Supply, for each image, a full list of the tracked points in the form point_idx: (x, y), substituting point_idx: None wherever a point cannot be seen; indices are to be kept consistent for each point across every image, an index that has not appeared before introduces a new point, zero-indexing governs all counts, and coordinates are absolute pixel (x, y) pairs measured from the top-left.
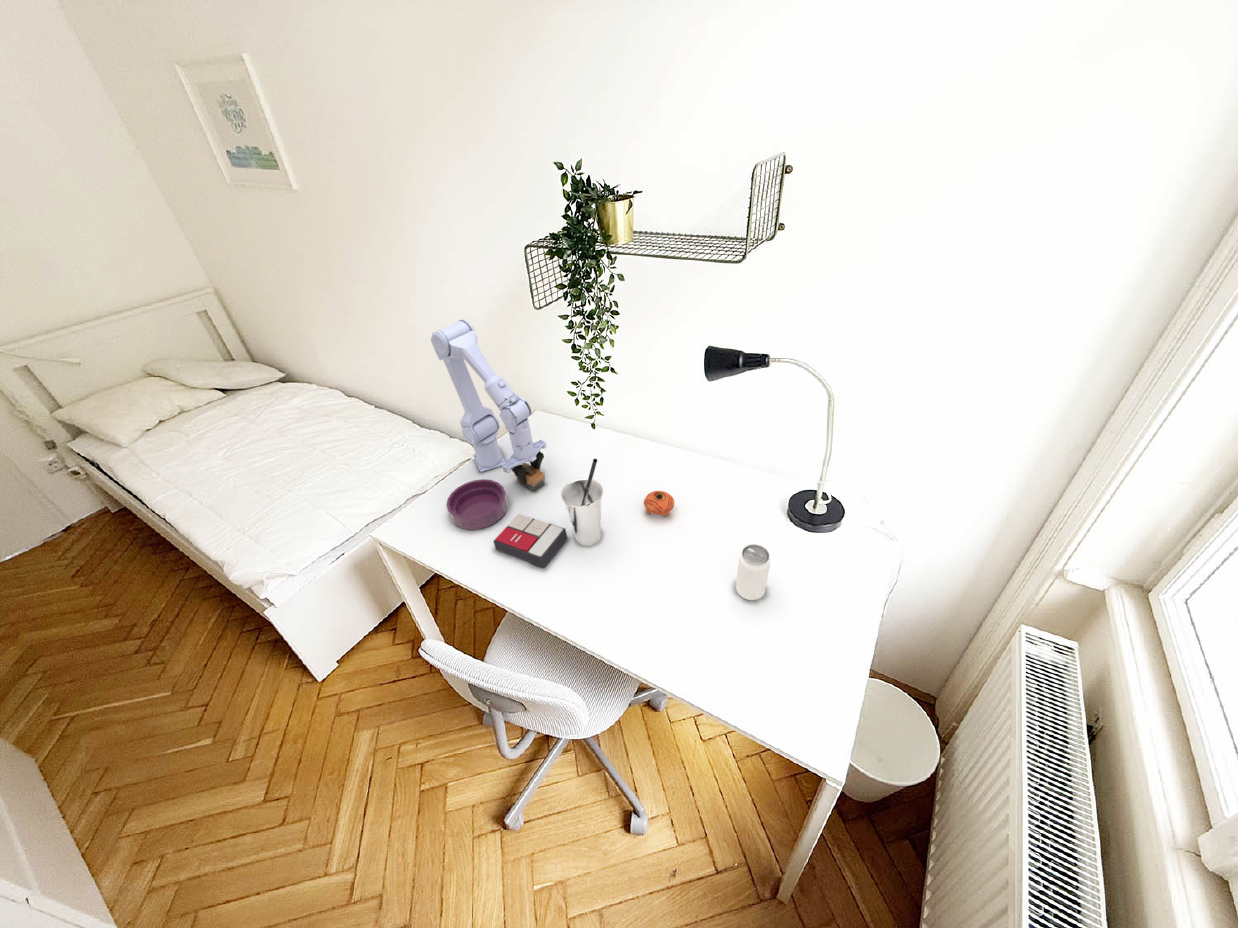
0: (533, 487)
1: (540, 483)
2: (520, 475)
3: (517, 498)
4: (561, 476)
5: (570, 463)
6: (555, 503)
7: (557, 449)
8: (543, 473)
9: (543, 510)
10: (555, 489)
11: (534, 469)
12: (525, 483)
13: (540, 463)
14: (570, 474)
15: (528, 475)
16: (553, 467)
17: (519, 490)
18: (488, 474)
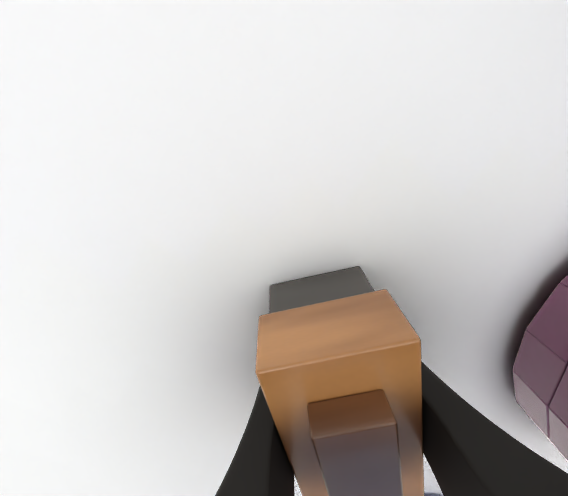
0: (372, 291)
1: (303, 298)
2: (535, 461)
3: (475, 280)
4: (127, 286)
5: (24, 352)
6: (323, 21)
7: (69, 463)
8: (258, 362)
9: (460, 14)
10: (228, 194)
11: (324, 449)
12: None
13: (229, 490)
14: (55, 266)
15: (392, 409)
16: (143, 376)
17: (415, 329)
18: (430, 477)
